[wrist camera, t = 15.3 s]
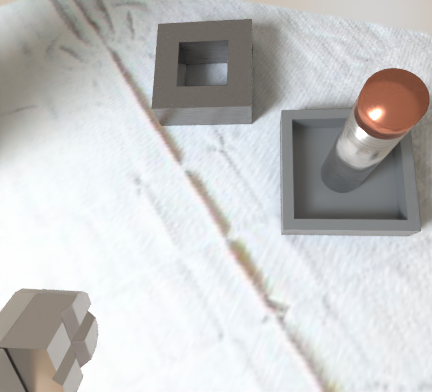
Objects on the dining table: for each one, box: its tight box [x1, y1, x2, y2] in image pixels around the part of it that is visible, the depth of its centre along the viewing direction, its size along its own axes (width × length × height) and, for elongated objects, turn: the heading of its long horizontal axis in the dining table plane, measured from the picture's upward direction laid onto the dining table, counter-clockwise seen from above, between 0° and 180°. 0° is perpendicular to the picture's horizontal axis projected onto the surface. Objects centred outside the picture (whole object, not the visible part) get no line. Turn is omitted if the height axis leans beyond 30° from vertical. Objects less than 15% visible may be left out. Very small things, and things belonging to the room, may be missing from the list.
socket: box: [152, 19, 253, 126], centre depth 41 cm, size 10×10×4 cm
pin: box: [321, 68, 429, 193], centre depth 31 cm, size 4×4×15 cm
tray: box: [280, 109, 421, 236], centre depth 37 cm, size 12×12×3 cm
